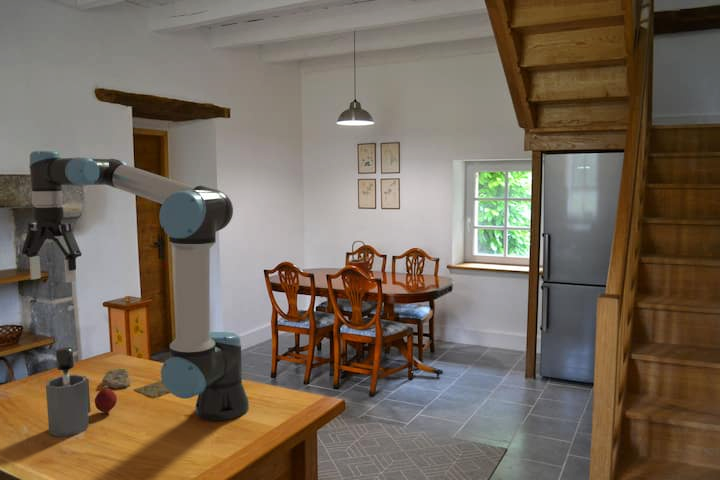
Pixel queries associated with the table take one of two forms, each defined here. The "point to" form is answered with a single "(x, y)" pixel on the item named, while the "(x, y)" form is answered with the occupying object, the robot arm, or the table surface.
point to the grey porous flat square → (153, 390)
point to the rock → (116, 378)
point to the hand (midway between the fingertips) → (53, 280)
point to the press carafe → (68, 405)
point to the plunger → (65, 363)
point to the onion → (105, 400)
